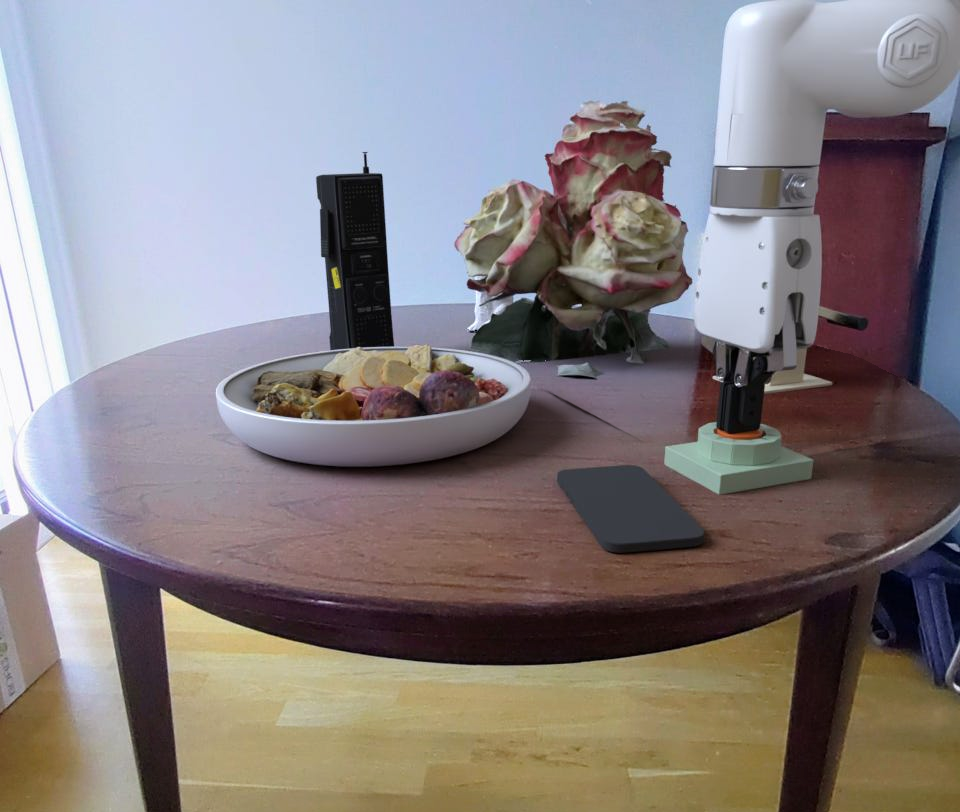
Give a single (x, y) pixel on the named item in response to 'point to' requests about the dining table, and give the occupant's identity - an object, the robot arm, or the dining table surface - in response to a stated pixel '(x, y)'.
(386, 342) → the portable radio
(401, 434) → the bowl
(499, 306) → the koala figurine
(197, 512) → the dining table surface
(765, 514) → the dining table surface
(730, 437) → the button
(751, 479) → the button block
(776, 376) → the bracket
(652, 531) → the phone
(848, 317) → the lever
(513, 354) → the rose bouquet
